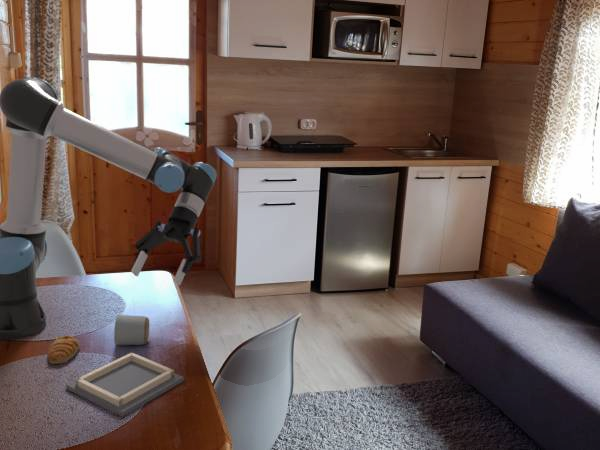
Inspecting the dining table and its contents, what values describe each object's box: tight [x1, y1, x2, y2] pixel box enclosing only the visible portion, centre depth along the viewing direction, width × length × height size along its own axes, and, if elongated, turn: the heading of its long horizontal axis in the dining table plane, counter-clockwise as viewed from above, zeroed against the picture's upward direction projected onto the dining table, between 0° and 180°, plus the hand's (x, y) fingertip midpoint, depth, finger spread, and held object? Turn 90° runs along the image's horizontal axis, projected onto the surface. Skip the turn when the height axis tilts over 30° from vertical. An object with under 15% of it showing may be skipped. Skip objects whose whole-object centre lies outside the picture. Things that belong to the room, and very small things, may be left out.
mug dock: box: [65, 352, 185, 418], centre depth 135 cm, size 18×18×2 cm
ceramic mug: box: [113, 314, 150, 346], centre depth 155 cm, size 11×8×8 cm
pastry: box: [47, 335, 81, 365], centre depth 146 cm, size 9×7×4 cm
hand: (155, 278), depth 160 cm, fingers open, 13 cm apart
